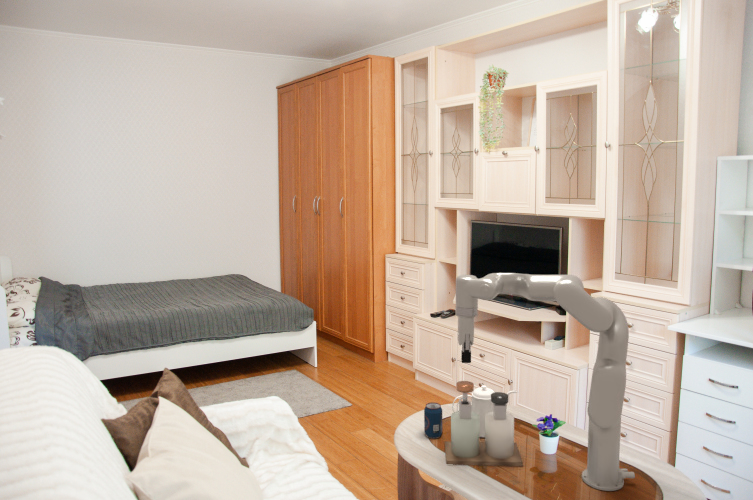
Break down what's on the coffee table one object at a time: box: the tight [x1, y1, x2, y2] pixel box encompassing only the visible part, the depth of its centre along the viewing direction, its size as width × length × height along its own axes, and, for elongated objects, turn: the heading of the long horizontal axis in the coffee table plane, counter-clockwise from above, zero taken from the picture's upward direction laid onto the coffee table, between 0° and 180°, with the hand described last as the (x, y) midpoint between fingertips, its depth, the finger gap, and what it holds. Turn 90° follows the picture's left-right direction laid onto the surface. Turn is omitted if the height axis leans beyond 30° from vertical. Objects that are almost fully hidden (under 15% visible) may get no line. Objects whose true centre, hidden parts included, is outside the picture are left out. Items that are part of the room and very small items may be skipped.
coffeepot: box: [451, 384, 519, 439], centre depth 215 cm, size 11×25×19 cm, turn 84°
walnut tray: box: [444, 440, 524, 467], centre depth 198 cm, size 26×14×2 cm, turn 85°
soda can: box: [423, 402, 444, 439], centre depth 214 cm, size 7×7×12 cm
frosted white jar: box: [484, 403, 515, 459], centre depth 197 cm, size 10×10×18 cm
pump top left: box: [491, 391, 509, 405], centre depth 196 cm, size 6×6×8 cm
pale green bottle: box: [450, 400, 480, 458], centre depth 198 cm, size 10×10×18 cm
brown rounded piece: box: [455, 380, 475, 404], centre depth 196 cm, size 6×6×8 cm
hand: (466, 362), depth 194 cm, fingers closed
